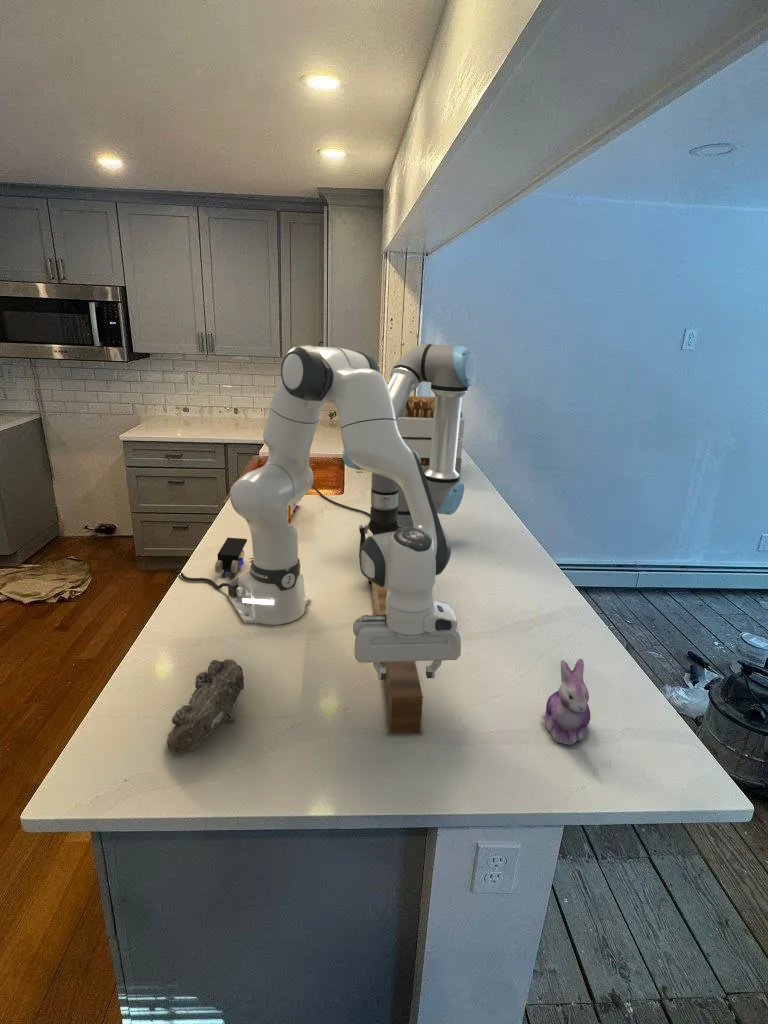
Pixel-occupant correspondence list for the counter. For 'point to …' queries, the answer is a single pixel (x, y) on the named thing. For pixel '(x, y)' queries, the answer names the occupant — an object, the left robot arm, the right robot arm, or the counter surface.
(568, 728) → the figurine
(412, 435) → the white boxy crate
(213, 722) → the fossil
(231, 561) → the figurine character
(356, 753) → the counter surface
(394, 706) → the post
